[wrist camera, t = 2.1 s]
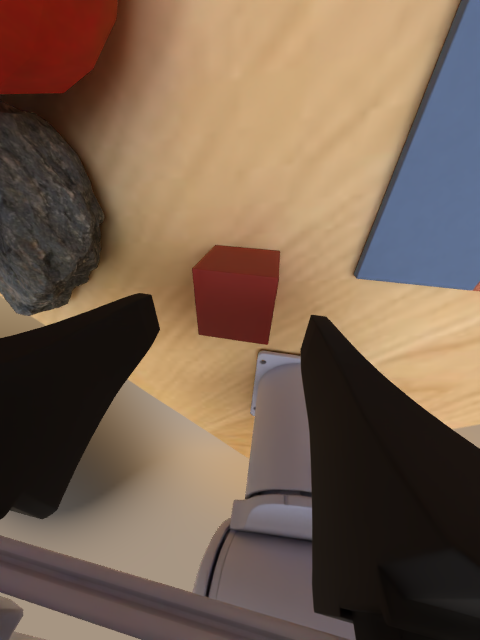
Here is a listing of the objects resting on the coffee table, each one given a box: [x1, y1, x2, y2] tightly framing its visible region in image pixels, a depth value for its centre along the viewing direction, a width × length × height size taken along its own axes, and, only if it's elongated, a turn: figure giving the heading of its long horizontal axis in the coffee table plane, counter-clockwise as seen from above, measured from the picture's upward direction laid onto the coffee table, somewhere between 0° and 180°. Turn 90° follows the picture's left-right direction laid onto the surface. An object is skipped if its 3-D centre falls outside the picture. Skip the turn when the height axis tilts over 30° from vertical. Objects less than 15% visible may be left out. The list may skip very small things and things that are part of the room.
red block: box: [192, 245, 280, 345], centre depth 12 cm, size 4×4×4 cm
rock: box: [0, 101, 104, 316], centre depth 12 cm, size 12×10×5 cm
